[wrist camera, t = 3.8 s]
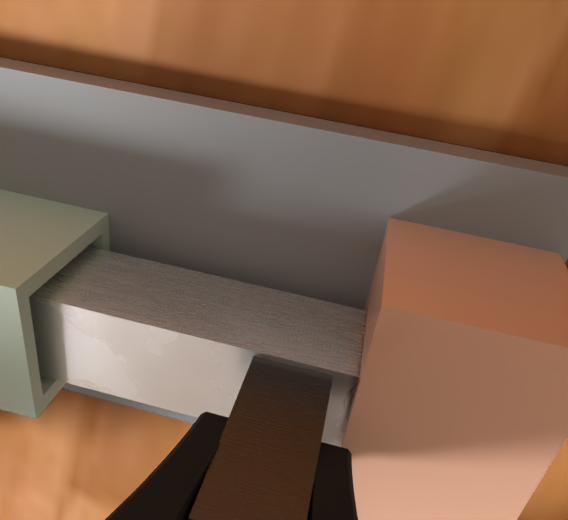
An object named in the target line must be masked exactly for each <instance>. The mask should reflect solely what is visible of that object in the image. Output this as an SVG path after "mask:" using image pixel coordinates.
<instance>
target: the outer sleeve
mask: <svg viewBox="0 0 568 520" xmlns="http://www.w3.org/2000/svg"><path fill="white" fill-rule="evenodd" d="M87 246H90V247H95V248H99V249H103V250H108V251H110V242H109V219H108V213H104V212H100V211H95V210H91V209H86V208H82V207H78V206H73V205H69V204H64V203H60V202H55V201H51V200H46V199H42V198H37V197H33V196H28V195H24V194H19V193H15V192H11V191H6V190H2V189H0V409H1V410H5V411H8V412H12V413H16V414H19V415H23V416H27V417H30V418H34V419H37V418H38V416H39V415H40V414H41V413H42V412H43V410H44V409H45V408H46V407H47V406H48V404H49V403H50V402H51V401H52V399H53V398H54V397H55V396H56V395H57V393H58V392H59V391H60V390H61V389H62V387H63V386H64V385H65V384H66V383H65V382H61V381H58V380H54V379H50V378H46V377H43V376H40V372H39V365H38V358H37V351H36V344H35V337H34V330H33V323H32V316H31V309H30V302H29V297H30V296H31V295H32V294H33V293H34V292H35V291H36V290H38V289H39V288H40V287H41V286H42V285H43V284H45V283H46V282H47V281H48V280H49V279H50V278H51V277H53V276H54V275H55V274H56V273H57V272H58V271H60V270H61V269H62V268H63V267H64V266H65V265H66V264H68V263H69V262H70V261H71V260H72V259H73V258H75V257H76V256H77V255H78V254H79V253H80V252H81V251H83V250H84V249H85V248H86V247H87Z"/></svg>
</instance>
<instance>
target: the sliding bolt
mask: <svg viewBox="0 0 568 520" xmlns="http://www.w3.org/2000/svg"><path fill="white" fill-rule="evenodd" d="M29 302H30V309H31V316H32V323H33V330H34V337H35V344H36V351H37V358H38V365H39V372H40V376H43V377H46V378H50V379H54V380H58V381H61V382H65V383H69V384H73V385H76V386H80V387H84V388H88V389H92V390H95V391H99V392H103V393H107V394H110V395H114V396H118V397H122V398H125V399H129V400H133V401H137V402H141V403H144V404H148V405H152V406H156V407H159V408H163V409H167V410H171V411H175V412H178V413H182V414H186V415H190V416H193V417H197V418H198V417H199V416H200V415H201V414H202V413H204V412H210V413H214V414H217V415H221V416H225V417H229V418H228V420H227V423H226V425H225V428H224V430H223V433H222V435H221V438H220V440H219V442H220V444H219V447H218V449H217V451H216V453H215V454H214V456H213V458H212V460H211V463H210V465H209V468H208V470H207V473H206V475H205V478H204V480H203V483H202V485H201V488H200V490H199V493H198V495H197V498H196V500H195V503H194V505H193V508H192V510H191V513H190V515H189V518H188V520H307V515H308V510H309V505H310V499H311V494H312V488H313V483H314V478H315V471H316V467H317V462H318V456H319V451H320V446H321V442H324V443H327V444H331V445H335V446H339V447H340V445H341V442H342V438H343V435H344V431H345V428H346V424H347V420H348V417H349V413H350V410H351V406H352V403H353V399H354V396H355V392H356V389H357V385H358V381H359V377H360V368H361V360H362V352H363V344H364V336H365V328H366V319H367V311H366V310H362V309H357V308H353V307H349V306H344V305H340V304H336V303H331V302H327V301H323V300H319V299H314V298H310V297H306V296H301V295H297V294H293V293H288V292H284V291H280V290H276V289H271V288H267V287H263V286H258V285H254V284H250V283H245V282H241V281H237V280H232V279H228V278H224V277H220V276H215V275H211V274H207V273H202V272H198V271H194V270H189V269H185V268H181V267H176V266H172V265H168V264H164V263H159V262H155V261H151V260H146V259H142V258H138V257H133V256H129V255H125V254H121V253H116V252H112V251H108V250H103V249H99V248H95V247H90V246H87V247H86V248H85V249H84V250H83V251H81V252H80V253H79V254H78V255H77V256H76V257H75V258H73V259H72V260H71V261H70V262H69V263H68V264H66V265H65V266H64V267H63V268H62V269H61V270H60V271H58V272H57V273H56V274H55V275H54V276H53V277H51V278H50V279H49V280H48V281H47V282H46V283H45V284H43V285H42V286H41V287H40V288H39V289H38V290H36V291H35V292H34V293H33V294H32V295H31V296H30V297H29Z"/></svg>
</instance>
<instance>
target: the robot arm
mask: <svg viewBox="0 0 568 520" xmlns="http://www.w3.org/2000/svg"><path fill="white" fill-rule="evenodd" d="M228 418H229V417H225V416H221V415H217V414H214V413H210V412H204V413H202V414H201V415H200V416H199V417H198V419H197V420H196V422H195V423H194V424H193V426H192V427H191V428H190V429H189V431H188V432H187V433H186V434H185V436H184V437H183V438H182V439H181V441H180V442H179V443H178V444H177V445H176V447H175V448H174V449H173V450H172V451H171V452H170V453H169V455H168V456H167V457H166V458H165V459H164V460H163V461H162V462H161V464H160V465H159V466H158V467H157V468H156V469H155V470H154V471H153V472H152V473H151V474H150V475H149V476H148V477H147V479H146V480H145V481H144V482H143V483H142V484H141V485H140V486H139V487H138V488H137V489H136V490H135V491H134V492H133V493H132V494H131V495H130V496H129V497H128V498H127V499H126V500H125V501H124V502H123V503H122V504H121V505H120V506H119V507H118V508H117V509H116V510H115V511H113V512H112V513H111V514H110V515H109V516H108V517H107V518H106V519H105V520H188V518H189V515H190V513H191V510H192V508H193V505H194V503H195V500H196V498H197V495H198V493H199V490H200V488H201V485H202V483H203V480H204V478H205V475H206V473H207V470H208V468H209V465H210V463H211V460H212V458H213V456H214V454H215V453H216V451H217V449H218V447H219V444H220V442H219V440H220V438H221V435H222V433H223V430H224V428H225V425H226V423H227V420H228ZM307 520H358V516H357V509H356V502H355V495H354V487H353V476H352V454H351V452H350V451H349V450H348V449H346V448H343V447H339V446H335V445H331V444H327V443H324V442H321V446H320V451H319V456H318V462H317V467H316V471H315V478H314V483H313V488H312V494H311V499H310V505H309V510H308V515H307Z"/></svg>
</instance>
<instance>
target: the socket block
mask: <svg viewBox="0 0 568 520" xmlns="http://www.w3.org/2000/svg"><path fill="white" fill-rule="evenodd" d="M365 310H366V311H367V319H366V328H365V336H364V344H363V352H362V360H361V368H360V377H359V381H358V385H357V389H356V392H355V396H354V399H353V403H352V406H351V410H350V413H349V417H348V420H347V424H346V428H345V431H344V435H343V438H342V442H341V445H340V447H343V448H346V449H348V450H349V451H350V452H351V454H352V476H353V487H354V495H355V502H356V509H357V516H358V520H517V519H518V517H519V515H520V514H521V512H522V510H523V509H524V507H525V505H526V504H527V502H528V500H529V499H530V497H531V496H532V494H533V492H534V491H535V489H536V487H537V486H538V484H539V482H540V481H541V479H542V477H543V476H544V474H545V472H546V471H547V469H548V468H549V466H550V464H551V463H552V461H553V459H554V458H555V456H556V454H557V453H558V451H559V449H560V448H561V446H562V444H563V443H564V441H565V440H566V438H567V436H568V269H567V267H566V265H565V263H564V261H563V259H562V257H561V255H560V254H559V253H555V252H551V251H546V250H541V249H536V248H532V247H527V246H522V245H517V244H513V243H508V242H503V241H498V240H494V239H489V238H484V237H480V236H475V235H470V234H465V233H461V232H456V231H451V230H446V229H442V228H437V227H432V226H427V225H423V224H418V223H413V222H408V221H404V220H399V219H394V218H389V219H388V223H387V226H386V230H385V234H384V238H383V242H382V245H381V249H380V253H379V257H378V261H377V264H376V268H375V272H374V276H373V279H372V283H371V287H370V291H369V295H368V298H367V302H366V306H365Z"/></svg>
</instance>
